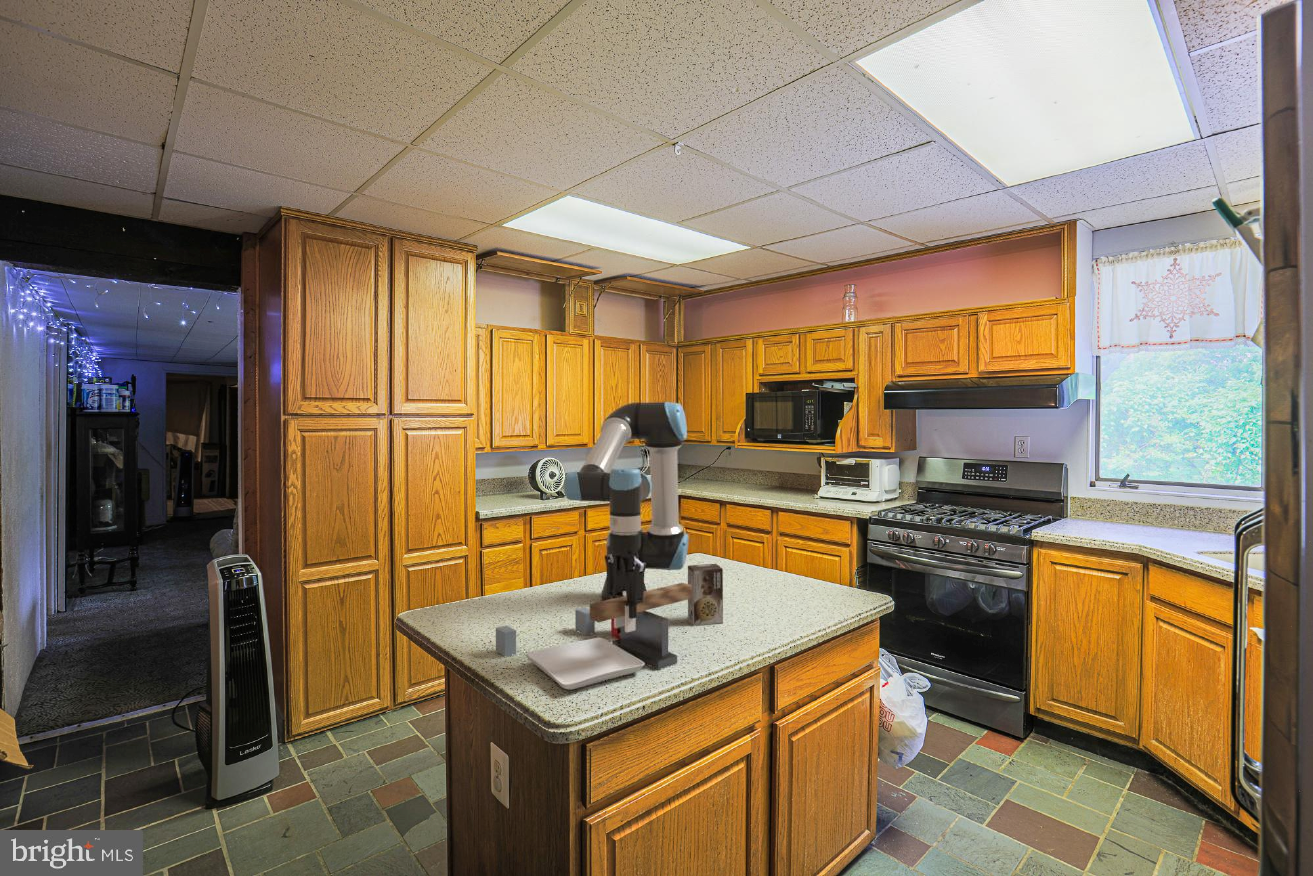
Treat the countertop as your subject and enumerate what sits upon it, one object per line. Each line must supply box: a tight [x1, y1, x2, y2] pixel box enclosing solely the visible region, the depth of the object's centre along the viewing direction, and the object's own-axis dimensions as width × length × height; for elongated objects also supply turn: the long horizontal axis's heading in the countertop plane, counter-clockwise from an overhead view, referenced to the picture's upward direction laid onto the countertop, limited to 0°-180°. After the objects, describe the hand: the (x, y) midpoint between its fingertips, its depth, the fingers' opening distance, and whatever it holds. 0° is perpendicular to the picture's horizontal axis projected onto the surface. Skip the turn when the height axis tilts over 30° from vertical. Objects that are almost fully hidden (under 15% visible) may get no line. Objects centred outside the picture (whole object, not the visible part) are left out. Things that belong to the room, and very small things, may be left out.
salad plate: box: [525, 637, 646, 690], centre depth 145 cm, size 21×21×3 cm
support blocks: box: [495, 607, 596, 657], centre depth 164 cm, size 27×5×6 cm, turn 131°
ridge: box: [611, 610, 678, 670], centre depth 154 cm, size 6×18×11 cm, turn 41°
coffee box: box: [687, 563, 724, 626], centre depth 181 cm, size 9×6×16 cm
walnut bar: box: [589, 582, 692, 624], centre depth 154 cm, size 30×4×4 cm, turn 131°
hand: (624, 628), depth 150 cm, fingers closed on walnut bar, 3 cm apart
